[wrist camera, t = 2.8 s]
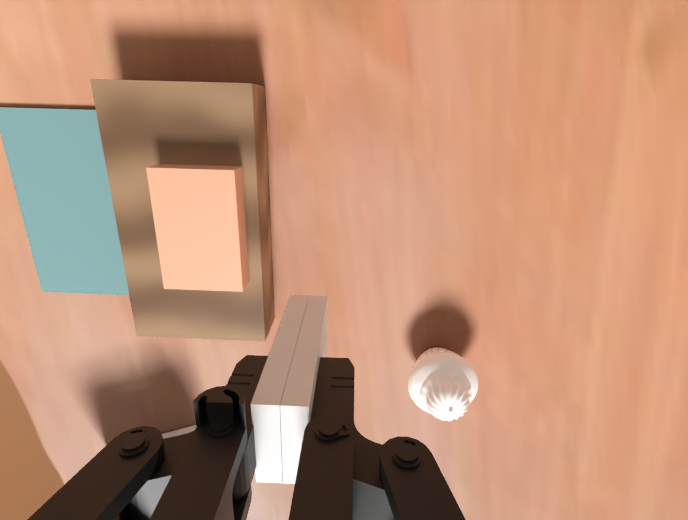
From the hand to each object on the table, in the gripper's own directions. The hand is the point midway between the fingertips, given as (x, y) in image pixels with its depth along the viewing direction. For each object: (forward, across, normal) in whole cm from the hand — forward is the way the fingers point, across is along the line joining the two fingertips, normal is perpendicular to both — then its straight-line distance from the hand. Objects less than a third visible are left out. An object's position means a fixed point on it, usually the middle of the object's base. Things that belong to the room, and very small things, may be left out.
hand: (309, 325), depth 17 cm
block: (+14, -9, 0) cm, 17 cm away
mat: (+18, -21, 0) cm, 28 cm away
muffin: (+19, +10, -14) cm, 25 cm away
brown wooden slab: (+18, -11, 0) cm, 21 cm away
